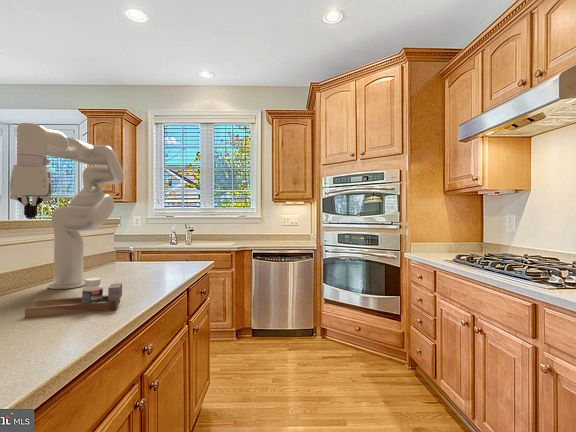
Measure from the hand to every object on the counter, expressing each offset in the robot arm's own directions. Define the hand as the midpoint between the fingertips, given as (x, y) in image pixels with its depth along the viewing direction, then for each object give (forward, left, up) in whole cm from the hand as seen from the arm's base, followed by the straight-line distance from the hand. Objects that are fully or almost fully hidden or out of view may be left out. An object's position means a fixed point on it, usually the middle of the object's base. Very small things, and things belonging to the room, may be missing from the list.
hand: (30, 217), depth 102 cm
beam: (+16, +17, -27) cm, 36 cm away
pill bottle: (+16, +21, -27) cm, 38 cm away
